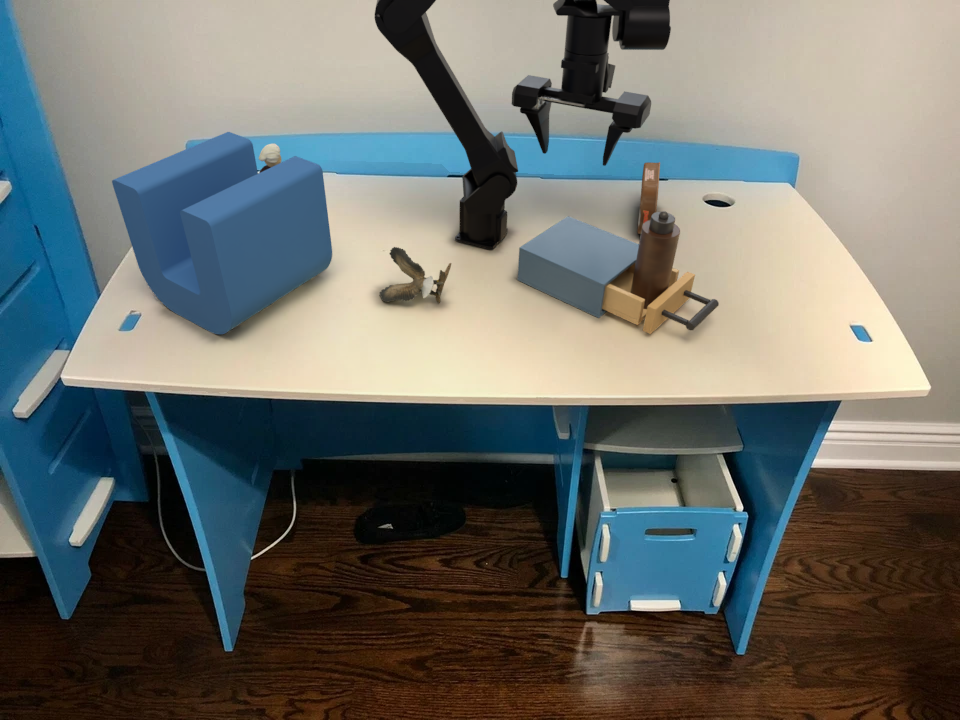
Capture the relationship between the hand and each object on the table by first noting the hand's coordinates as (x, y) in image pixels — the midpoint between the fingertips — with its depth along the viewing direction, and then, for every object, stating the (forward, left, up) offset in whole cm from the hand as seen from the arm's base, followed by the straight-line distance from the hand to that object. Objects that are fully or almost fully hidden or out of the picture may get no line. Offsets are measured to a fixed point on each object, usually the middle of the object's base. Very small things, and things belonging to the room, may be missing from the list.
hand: (574, 158), depth 111 cm
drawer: (+16, -14, -12) cm, 24 cm away
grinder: (+16, -14, -11) cm, 24 cm away
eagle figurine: (-14, -25, -13) cm, 32 cm away
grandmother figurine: (-43, -15, -13) cm, 47 cm away
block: (-36, -34, -13) cm, 51 cm away
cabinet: (+6, -11, -13) cm, 18 cm away
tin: (+10, +10, -13) cm, 19 cm away
